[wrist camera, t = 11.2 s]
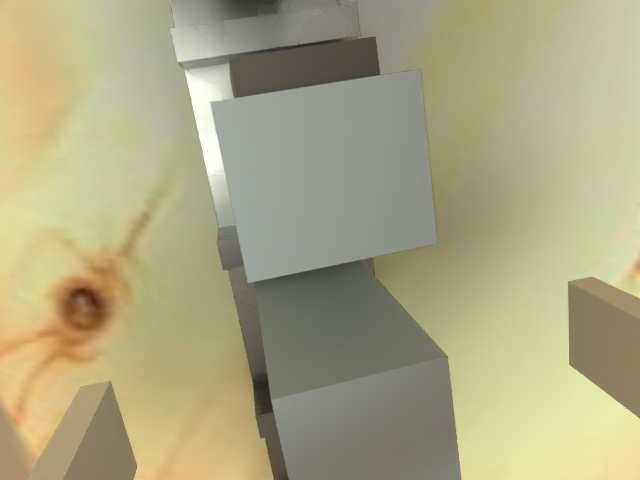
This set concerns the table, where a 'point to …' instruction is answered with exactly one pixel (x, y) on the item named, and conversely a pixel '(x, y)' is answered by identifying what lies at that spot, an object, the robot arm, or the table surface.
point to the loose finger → (354, 380)
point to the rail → (208, 86)
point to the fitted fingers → (324, 158)
